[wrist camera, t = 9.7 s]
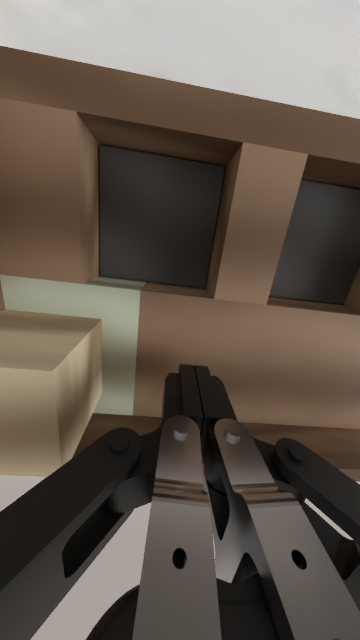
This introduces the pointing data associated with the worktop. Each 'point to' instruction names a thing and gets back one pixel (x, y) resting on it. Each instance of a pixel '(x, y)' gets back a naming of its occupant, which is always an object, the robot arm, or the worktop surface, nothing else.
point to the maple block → (46, 388)
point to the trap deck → (188, 243)
